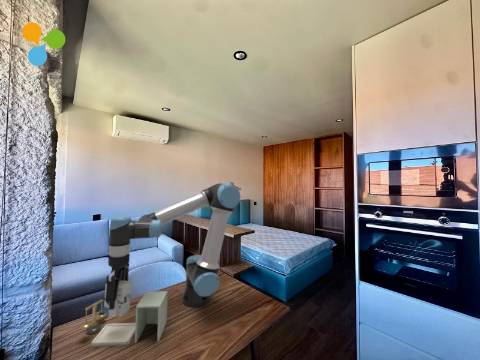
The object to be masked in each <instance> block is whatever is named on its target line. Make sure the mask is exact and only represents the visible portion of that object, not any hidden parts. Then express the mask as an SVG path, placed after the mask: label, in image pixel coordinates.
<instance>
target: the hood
mask: <svg viewBox="0 0 480 360" xmlns="http://www.w3.org/2000/svg"><path fill="white" fill-rule="evenodd" d="M168 293H169V292H168V291H167V290H166V291H164V290H163V291H162V290H161V291H159V290H158V291H153V290H151V291H145V293H144V295H143V296H142V297H141V299H140V300H139V301H138V303H137V305H136V306H135V322H134V323H135V334H134V343H135V344H137V342H138V340H139V339H140V337H141V335H142V333H143V331H144V329H145V328H146V326H147V325H157V338H156V339H157V340H156V341H157V343H159V342H160V340H161V337H162V334H163V333H164V330H165V329H166V328H165V327H166V326H167V323H168V321H167V320H168V318H167V317H168Z"/></svg>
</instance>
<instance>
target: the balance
mask: <svg viewBox="0 0 480 360" xmlns="http://www.w3.org/2000/svg"><path fill="white" fill-rule="evenodd" d="M103 303H104V299H100V300H98V301H96V302H95V303H92V304H91V305H89V306H87V307H85V310H84V311H85V321H84V322H82V323H81V324H79V330H86V335H88V336H91V335H94V334H95V335H96V334H97V333H98V332H99V331H101V330H102V325H101V324H100V323H97V319H103V318H105V317H106V316H107V315H108V314H104V308H103ZM99 304H101V305H100V307H101V308H99V309H98V313H97V306H98V305H99ZM91 309H92V313H91V314H92V318H91V320H87V319H88V311H89V310H91ZM99 333H100V332H99Z"/></svg>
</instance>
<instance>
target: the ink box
mask: <svg viewBox="0 0 480 360" xmlns="http://www.w3.org/2000/svg"><path fill="white" fill-rule="evenodd" d="M104 287H105V288H104V289H105V290H104V299H103V303H104V304H103V309H104V314H107V315H109V302H106V288H107V283H105V284H104ZM131 288H132V282H131V281H129V280H128V281H124V280H120V281H119V285H118V291H117V297H116V299H117V316H116V317H120V318H122V317H123V316H125V315H126V314H127V313H128V312H129V311H130V310H131V295H132V293H131V292H132V291H131V290H132V289H131Z"/></svg>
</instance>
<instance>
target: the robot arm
mask: <svg viewBox="0 0 480 360" xmlns="http://www.w3.org/2000/svg"><path fill="white" fill-rule="evenodd" d="M240 200H241V193H240V189H238V188H236V187H234V186H233V184H232V183H222V182H221V183H215V184H213V185H211V186H209V187H207V188H204V189H202V190H201V191H200V192H199V193H197V194H195V195H193V196H190V197H188V198H186V199H182V200H181V201H178V202H176V203H173V204H171V205H169V206H166V207H163V208H160V209H158V210H155V211H154V212H151V213H148V214H144V215H142V216H141V217H139V218H138V220H132V217H131V216H128V215H118V216H114V217H112V218H111V219H110V224H109V225H110V226H109V236H108V237H109V238H108V239H109V240H108V242H109V244H108V245H109V246H108V255H109V256H108V261H107V262H108V266H109V267H111V271H110V275H107V276H106V278H105V279H106V284H107V288H106V302H109V314H108V318H111V317H112V318H114V317H118V316H117V299H116V297H117V291H118V285H119V281H120V280H124V281H129V271H130V269H129V268H130V258H131V257H130V255H131V254H130V253H131V240H136V239H153V238H159V237H160V236H161V235H162V225H165V224H167V223H169V222H172V221H174V220H176V219H179V218H181V217H183V216H185V215H188V214H190V213H193V212H195V211H197V210H199V209H201V208H204V207H207V208H208V207H211V210H212V214H211V217H210V222H209V225H208V229H207V233H206V237H205V241H204V245H203V248H202V252H201V254H196V255H190V256H189V257H187V259H186V266H185V267H186V271H185V273H186V274H185V277H186V278H185V286H184V290H183V292H182V298H181V299H182V300H181V302H182V303H183V305H185V306H188V307H190V308H191V307H192V308H197V307H202V306H204V305H207V304H208V303H209V302H210V300H211V296H212V294H214V293H215V292H216V291H217V290H218V289H219V286H220V277H219V271H220V264H219V263H218V262H219V259H220V254H221V250H222V246H223V243H224V242H223V241H224V238H225V234H226V231H227V227H228V226H227V225H228V222H229V218H230V215H231V214H233V213H234V210H235V207H237V206H238V204H240Z"/></svg>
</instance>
